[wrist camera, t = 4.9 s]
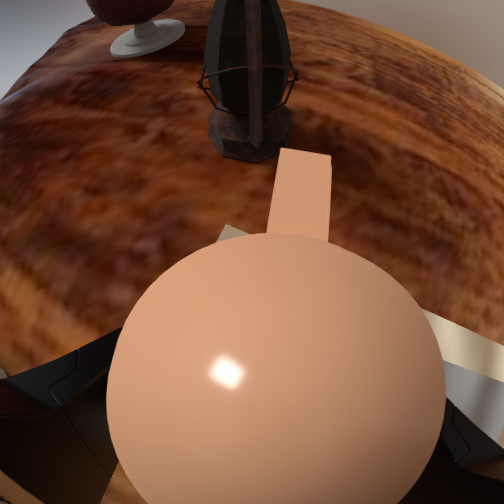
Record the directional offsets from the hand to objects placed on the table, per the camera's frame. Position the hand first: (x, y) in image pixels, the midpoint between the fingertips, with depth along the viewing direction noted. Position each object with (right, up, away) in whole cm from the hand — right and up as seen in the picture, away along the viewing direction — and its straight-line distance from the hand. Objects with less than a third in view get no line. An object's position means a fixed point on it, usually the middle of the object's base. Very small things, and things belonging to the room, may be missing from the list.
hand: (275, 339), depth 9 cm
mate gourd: (-17, +37, +26) cm, 48 cm away
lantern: (-1, +14, +17) cm, 22 cm away
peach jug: (0, -2, +5) cm, 5 cm away
